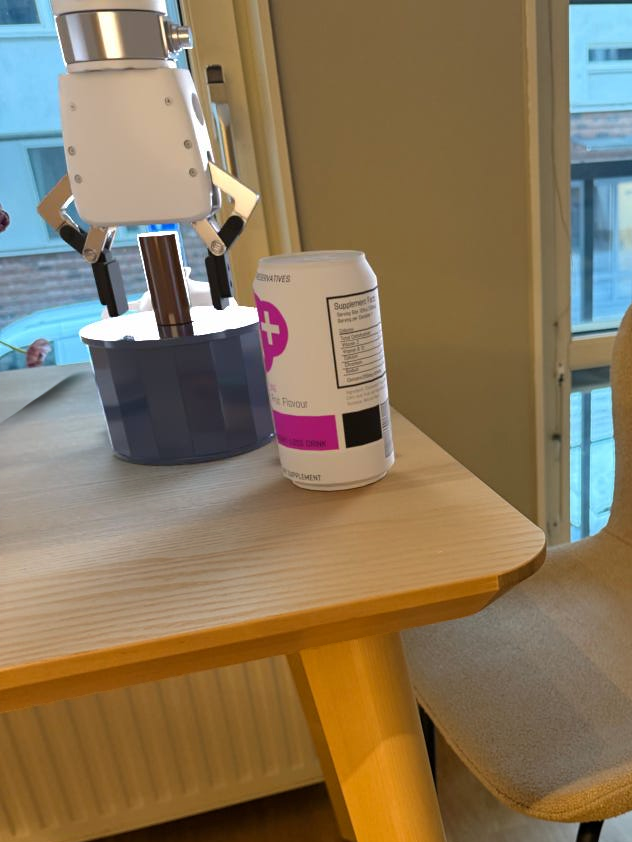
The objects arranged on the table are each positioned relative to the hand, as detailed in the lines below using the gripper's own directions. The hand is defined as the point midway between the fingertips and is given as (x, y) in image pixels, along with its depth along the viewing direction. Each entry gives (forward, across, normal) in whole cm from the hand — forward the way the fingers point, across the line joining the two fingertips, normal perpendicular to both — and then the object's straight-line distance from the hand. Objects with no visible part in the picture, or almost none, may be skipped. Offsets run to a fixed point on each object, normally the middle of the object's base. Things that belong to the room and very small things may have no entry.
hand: (170, 310), depth 74 cm
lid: (+2, 0, 0) cm, 2 cm away
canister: (+11, 0, 0) cm, 11 cm away
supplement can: (+11, -13, +12) cm, 21 cm away
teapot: (+11, +6, -34) cm, 36 cm away
